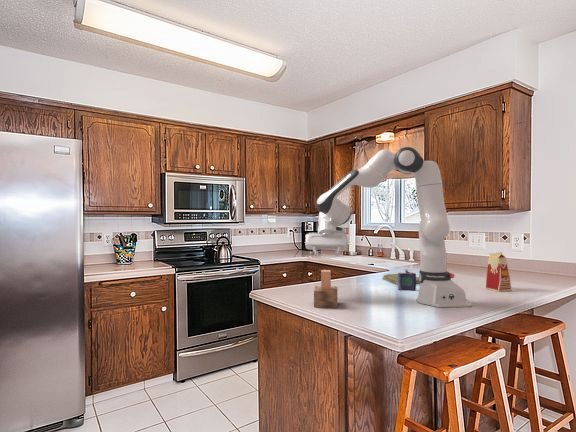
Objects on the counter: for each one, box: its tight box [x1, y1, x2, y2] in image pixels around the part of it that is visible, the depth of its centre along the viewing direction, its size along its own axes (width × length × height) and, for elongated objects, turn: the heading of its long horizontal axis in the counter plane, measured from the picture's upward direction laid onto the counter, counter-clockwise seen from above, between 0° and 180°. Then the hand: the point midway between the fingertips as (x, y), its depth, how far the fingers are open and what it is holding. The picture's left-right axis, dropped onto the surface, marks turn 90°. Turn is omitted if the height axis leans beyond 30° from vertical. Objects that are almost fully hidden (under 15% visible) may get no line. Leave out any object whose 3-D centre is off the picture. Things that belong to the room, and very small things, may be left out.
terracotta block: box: [320, 269, 332, 290], centre depth 161 cm, size 4×4×8 cm
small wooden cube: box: [313, 285, 338, 309], centre depth 161 cm, size 10×10×7 cm
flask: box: [397, 269, 417, 292], centre depth 191 cm, size 9×3×11 cm, turn 80°
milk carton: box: [485, 251, 513, 293], centre depth 191 cm, size 9×9×20 cm
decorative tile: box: [382, 273, 420, 286], centre depth 215 cm, size 19×20×4 cm
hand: (326, 255), depth 169 cm, fingers open, 8 cm apart
